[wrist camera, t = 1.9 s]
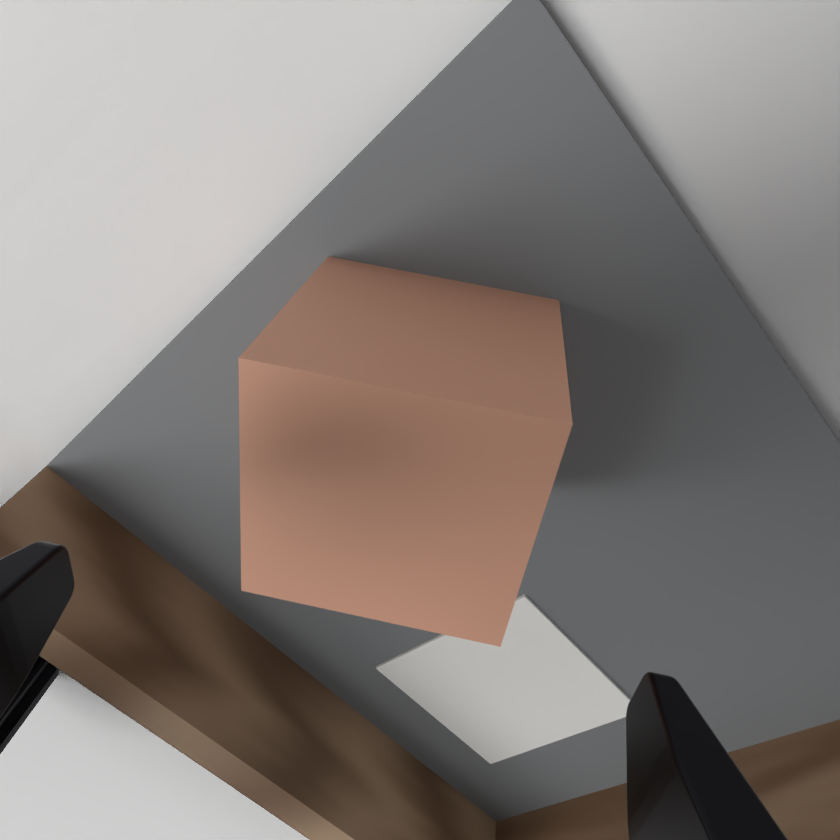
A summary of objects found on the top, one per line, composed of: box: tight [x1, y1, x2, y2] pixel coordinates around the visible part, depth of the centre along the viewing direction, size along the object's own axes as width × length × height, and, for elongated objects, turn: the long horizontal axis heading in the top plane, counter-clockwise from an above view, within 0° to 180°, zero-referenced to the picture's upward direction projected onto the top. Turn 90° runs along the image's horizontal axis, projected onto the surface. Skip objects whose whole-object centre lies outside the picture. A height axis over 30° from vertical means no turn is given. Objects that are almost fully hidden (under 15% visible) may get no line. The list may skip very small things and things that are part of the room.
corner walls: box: [0, 466, 840, 840], centre depth 18 cm, size 24×20×4 cm
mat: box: [47, 0, 840, 821], centre depth 20 cm, size 24×20×1 cm
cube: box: [238, 256, 573, 647], centre depth 14 cm, size 6×6×6 cm
